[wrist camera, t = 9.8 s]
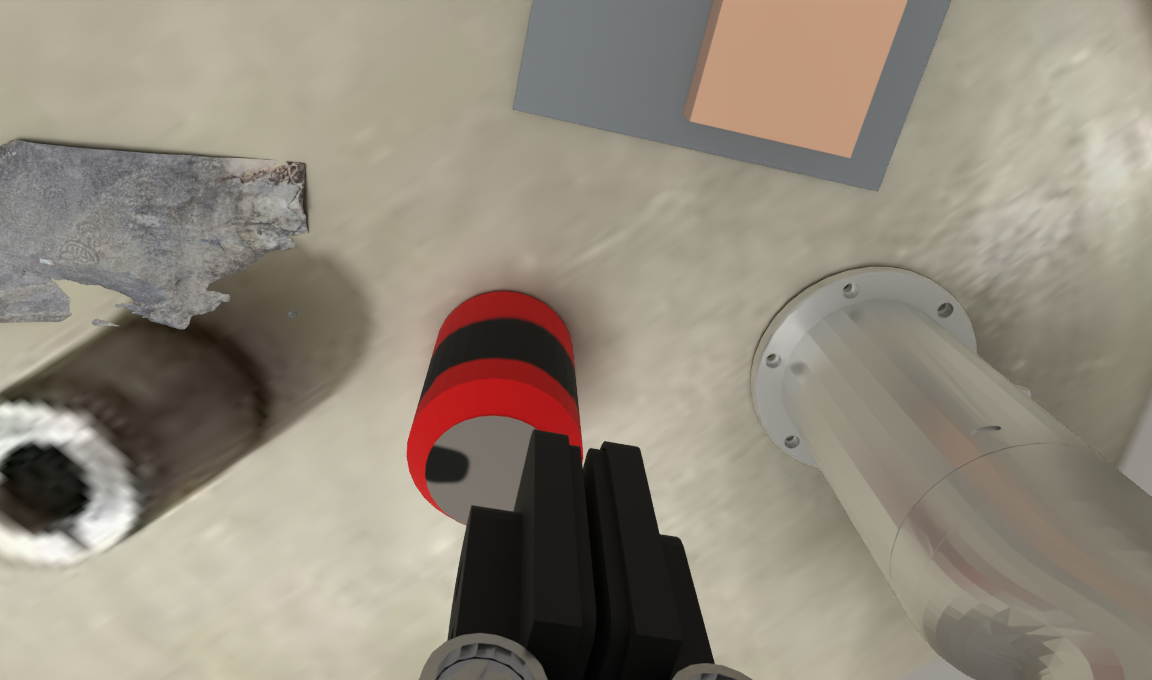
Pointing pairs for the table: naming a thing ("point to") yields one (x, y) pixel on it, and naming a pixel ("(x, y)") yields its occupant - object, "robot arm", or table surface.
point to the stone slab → (136, 227)
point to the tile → (792, 69)
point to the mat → (665, 70)
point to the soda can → (491, 401)
